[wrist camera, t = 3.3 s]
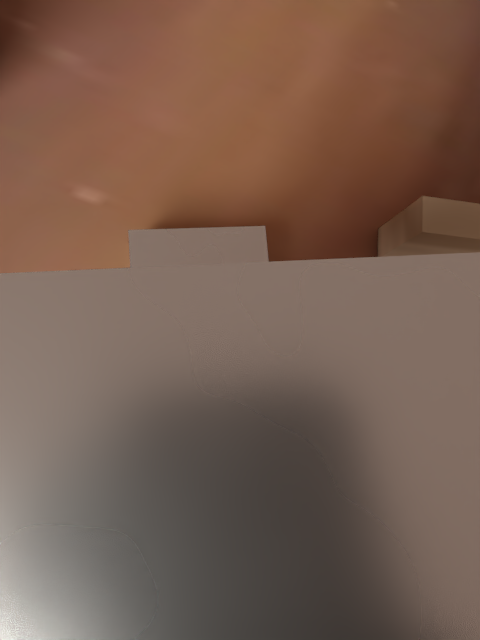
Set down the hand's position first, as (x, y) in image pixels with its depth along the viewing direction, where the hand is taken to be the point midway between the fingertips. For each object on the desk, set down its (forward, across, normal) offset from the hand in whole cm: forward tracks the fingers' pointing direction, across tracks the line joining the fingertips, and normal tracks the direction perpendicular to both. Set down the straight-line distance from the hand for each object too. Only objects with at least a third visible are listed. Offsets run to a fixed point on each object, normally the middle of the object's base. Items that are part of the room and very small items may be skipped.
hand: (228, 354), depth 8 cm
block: (+5, 0, +4) cm, 7 cm away
